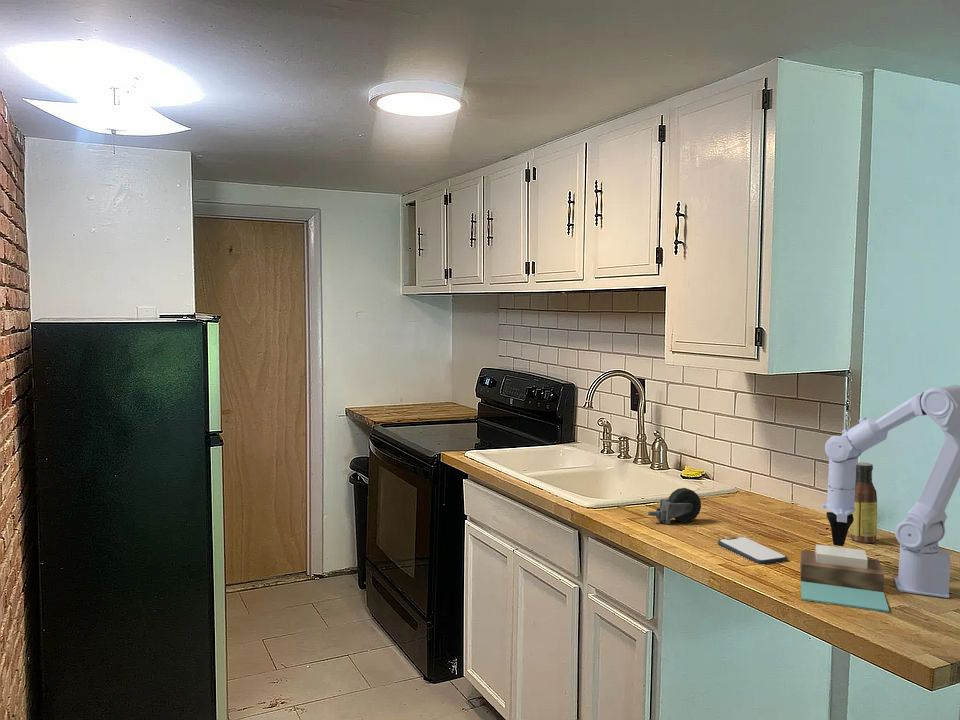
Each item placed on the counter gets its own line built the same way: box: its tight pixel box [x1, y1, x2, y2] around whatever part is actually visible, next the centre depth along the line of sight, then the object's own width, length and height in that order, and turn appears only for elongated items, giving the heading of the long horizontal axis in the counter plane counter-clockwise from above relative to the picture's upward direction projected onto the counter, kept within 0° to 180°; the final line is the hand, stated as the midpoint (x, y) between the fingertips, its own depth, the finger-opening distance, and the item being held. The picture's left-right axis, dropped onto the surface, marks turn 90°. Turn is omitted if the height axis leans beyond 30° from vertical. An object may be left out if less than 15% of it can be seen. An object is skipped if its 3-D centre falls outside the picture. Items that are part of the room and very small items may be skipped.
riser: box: [799, 549, 885, 592], centre depth 172 cm, size 16×10×4 cm, turn 69°
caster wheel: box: [647, 487, 702, 525], centre depth 215 cm, size 6×10×15 cm
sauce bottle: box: [849, 462, 878, 544], centre depth 200 cm, size 7×6×20 cm
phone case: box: [717, 536, 788, 565], centre depth 190 cm, size 9×2×16 cm
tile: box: [814, 543, 868, 569], centre depth 173 cm, size 10×7×2 cm
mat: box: [800, 580, 890, 613], centre depth 162 cm, size 16×10×1 cm, turn 68°
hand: (838, 544), depth 181 cm, fingers closed
